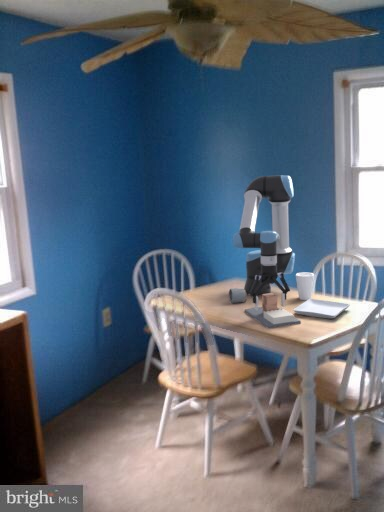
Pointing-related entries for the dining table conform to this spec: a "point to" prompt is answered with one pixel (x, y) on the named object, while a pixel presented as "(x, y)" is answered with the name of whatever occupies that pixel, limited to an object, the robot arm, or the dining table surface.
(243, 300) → the grey cylinder
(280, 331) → the dining table surface
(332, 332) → the dining table surface
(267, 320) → the board
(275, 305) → the reddish brown block
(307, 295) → the foam cup
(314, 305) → the salad plate
